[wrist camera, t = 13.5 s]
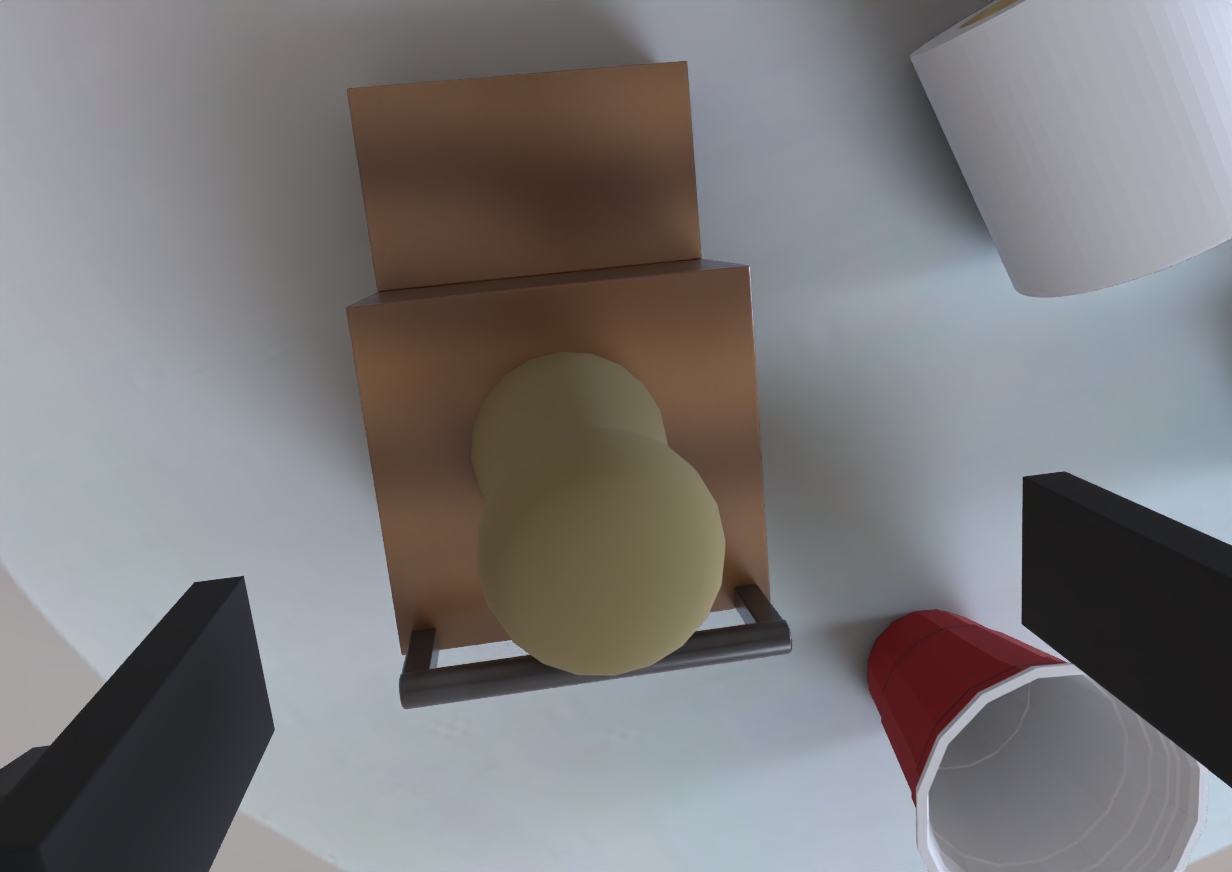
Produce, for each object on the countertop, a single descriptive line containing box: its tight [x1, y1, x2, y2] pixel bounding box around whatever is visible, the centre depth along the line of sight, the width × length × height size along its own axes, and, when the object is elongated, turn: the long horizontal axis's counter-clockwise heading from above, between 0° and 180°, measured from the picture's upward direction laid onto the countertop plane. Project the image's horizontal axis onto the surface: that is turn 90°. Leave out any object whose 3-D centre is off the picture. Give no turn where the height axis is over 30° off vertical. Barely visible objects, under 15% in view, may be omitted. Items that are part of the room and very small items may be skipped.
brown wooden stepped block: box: [346, 61, 792, 709], centre depth 31 cm, size 18×12×15 cm, turn 5°
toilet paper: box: [910, 0, 1232, 297], centre depth 34 cm, size 10×10×10 cm
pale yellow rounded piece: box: [471, 352, 725, 676], centre depth 23 cm, size 6×6×11 cm
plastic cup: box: [868, 609, 1209, 872], centre depth 38 cm, size 11×11×12 cm
